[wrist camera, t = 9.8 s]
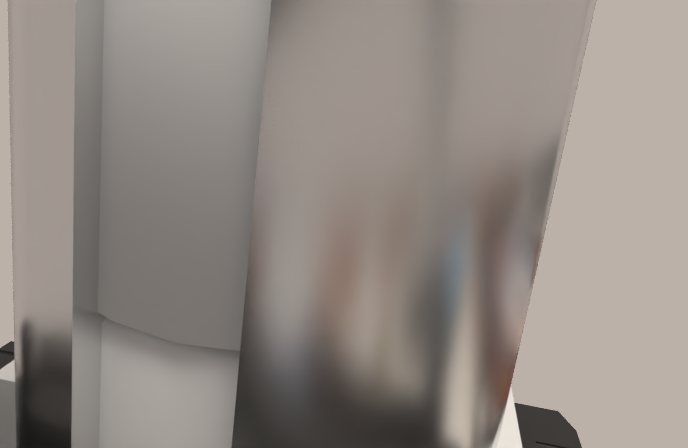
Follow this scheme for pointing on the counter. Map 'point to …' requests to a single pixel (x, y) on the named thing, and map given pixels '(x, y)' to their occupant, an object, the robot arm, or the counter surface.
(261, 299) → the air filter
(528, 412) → the robot arm
